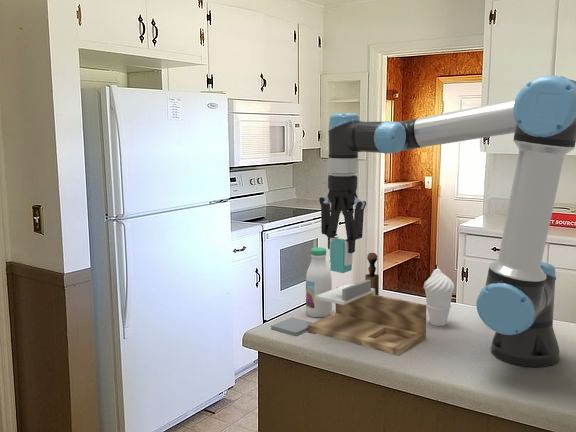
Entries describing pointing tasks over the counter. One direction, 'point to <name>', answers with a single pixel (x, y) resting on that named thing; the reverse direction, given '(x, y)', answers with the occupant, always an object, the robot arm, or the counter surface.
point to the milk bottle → (318, 284)
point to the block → (338, 256)
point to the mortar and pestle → (373, 273)
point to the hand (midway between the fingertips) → (340, 263)
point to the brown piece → (376, 323)
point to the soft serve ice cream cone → (438, 297)
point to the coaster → (292, 326)
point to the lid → (347, 293)
